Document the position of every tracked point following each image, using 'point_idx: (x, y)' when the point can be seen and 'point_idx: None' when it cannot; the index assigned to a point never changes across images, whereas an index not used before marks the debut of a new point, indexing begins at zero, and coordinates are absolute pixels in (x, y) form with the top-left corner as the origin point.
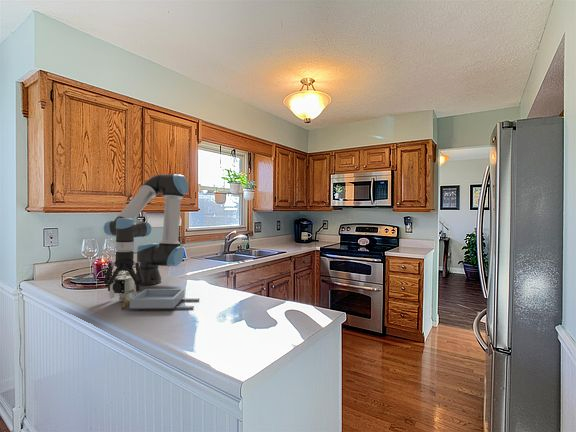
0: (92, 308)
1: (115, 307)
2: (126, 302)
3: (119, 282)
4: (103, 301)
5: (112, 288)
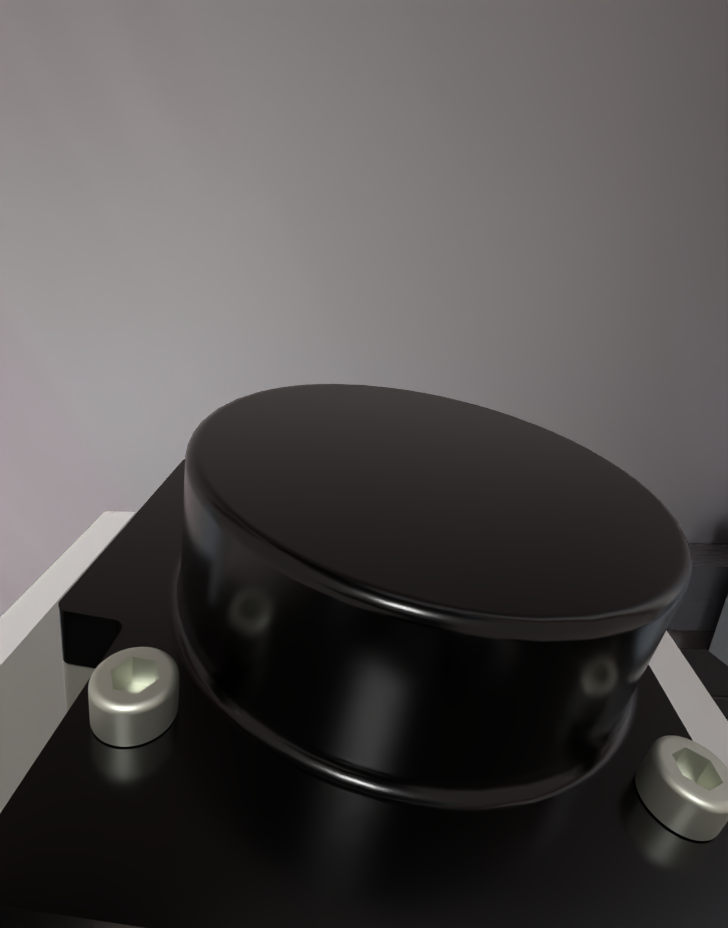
0: None
1: None
2: None
3: None
4: (46, 563)
5: (41, 732)
